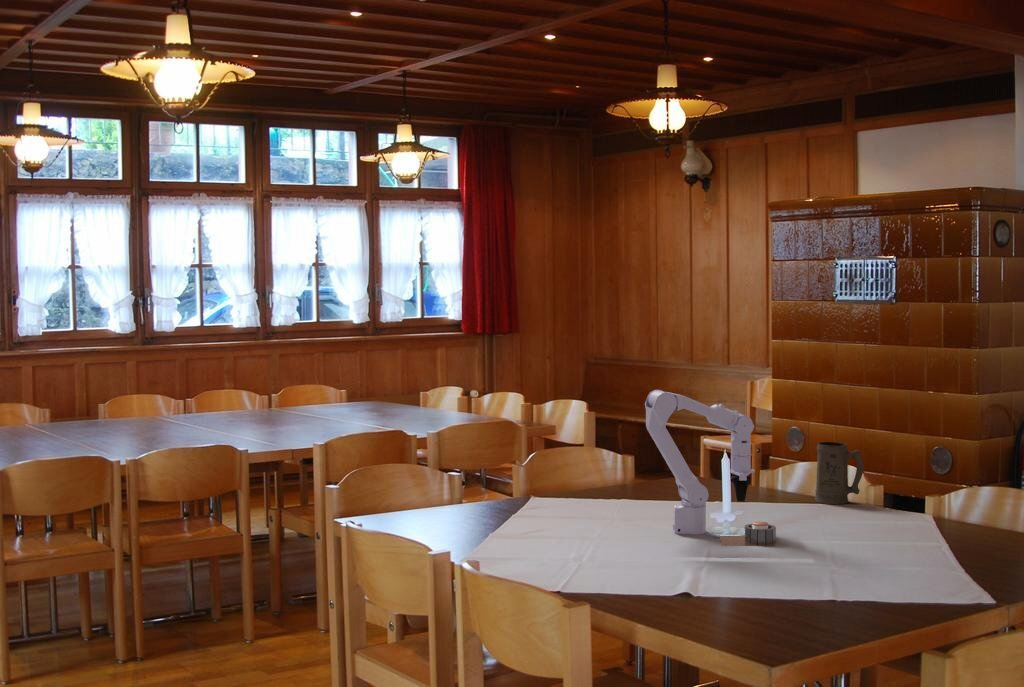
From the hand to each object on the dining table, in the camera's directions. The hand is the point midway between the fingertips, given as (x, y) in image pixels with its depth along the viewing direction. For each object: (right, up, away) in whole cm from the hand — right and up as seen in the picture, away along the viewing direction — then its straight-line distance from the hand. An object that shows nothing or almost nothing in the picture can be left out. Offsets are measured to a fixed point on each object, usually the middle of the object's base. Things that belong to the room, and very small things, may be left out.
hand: (740, 501), depth 342 cm
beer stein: (+42, -7, +46) cm, 63 cm away
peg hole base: (-1, -10, -14) cm, 18 cm away
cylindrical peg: (+3, -9, -15) cm, 18 cm away
